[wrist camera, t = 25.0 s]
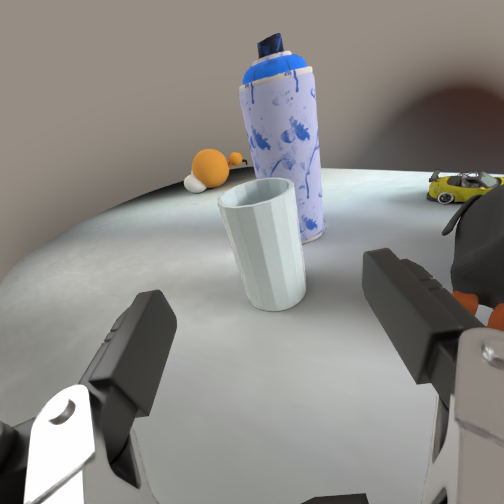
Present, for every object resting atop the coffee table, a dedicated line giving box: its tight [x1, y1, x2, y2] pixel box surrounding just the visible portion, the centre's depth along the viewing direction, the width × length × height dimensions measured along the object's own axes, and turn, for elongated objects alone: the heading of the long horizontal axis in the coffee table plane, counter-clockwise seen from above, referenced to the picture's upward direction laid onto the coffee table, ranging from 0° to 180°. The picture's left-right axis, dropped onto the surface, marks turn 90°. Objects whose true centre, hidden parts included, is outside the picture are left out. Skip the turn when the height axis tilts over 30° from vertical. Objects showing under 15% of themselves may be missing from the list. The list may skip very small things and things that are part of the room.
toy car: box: [427, 169, 504, 204], centre depth 28 cm, size 5×10×3 cm, turn 48°
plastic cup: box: [218, 178, 307, 311], centre depth 20 cm, size 6×6×10 cm
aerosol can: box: [239, 33, 326, 244], centre depth 27 cm, size 8×8×20 cm
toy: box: [184, 149, 247, 193], centre depth 57 cm, size 9×10×15 cm
